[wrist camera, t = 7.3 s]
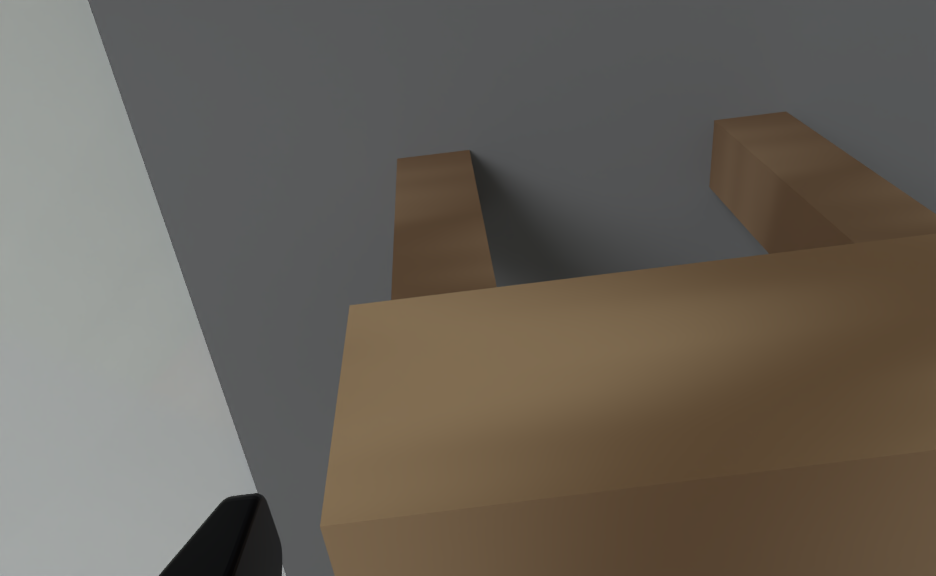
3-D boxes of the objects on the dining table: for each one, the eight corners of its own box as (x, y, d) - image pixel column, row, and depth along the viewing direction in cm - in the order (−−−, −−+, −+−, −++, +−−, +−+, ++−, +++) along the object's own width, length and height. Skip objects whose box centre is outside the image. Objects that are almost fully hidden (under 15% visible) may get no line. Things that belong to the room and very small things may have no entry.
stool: (811, 87, 10) (1346, 399, 4) (763, 421, 13) (1036, 860, 7) (371, 140, 10) (320, 526, 4) (428, 463, 13) (442, 936, 7)
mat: (1071, -189, 9) (1099, -191, 8) (877, 506, 15) (888, 521, 15) (75, -78, 9) (62, -75, 8) (295, 576, 15) (293, 593, 14)
